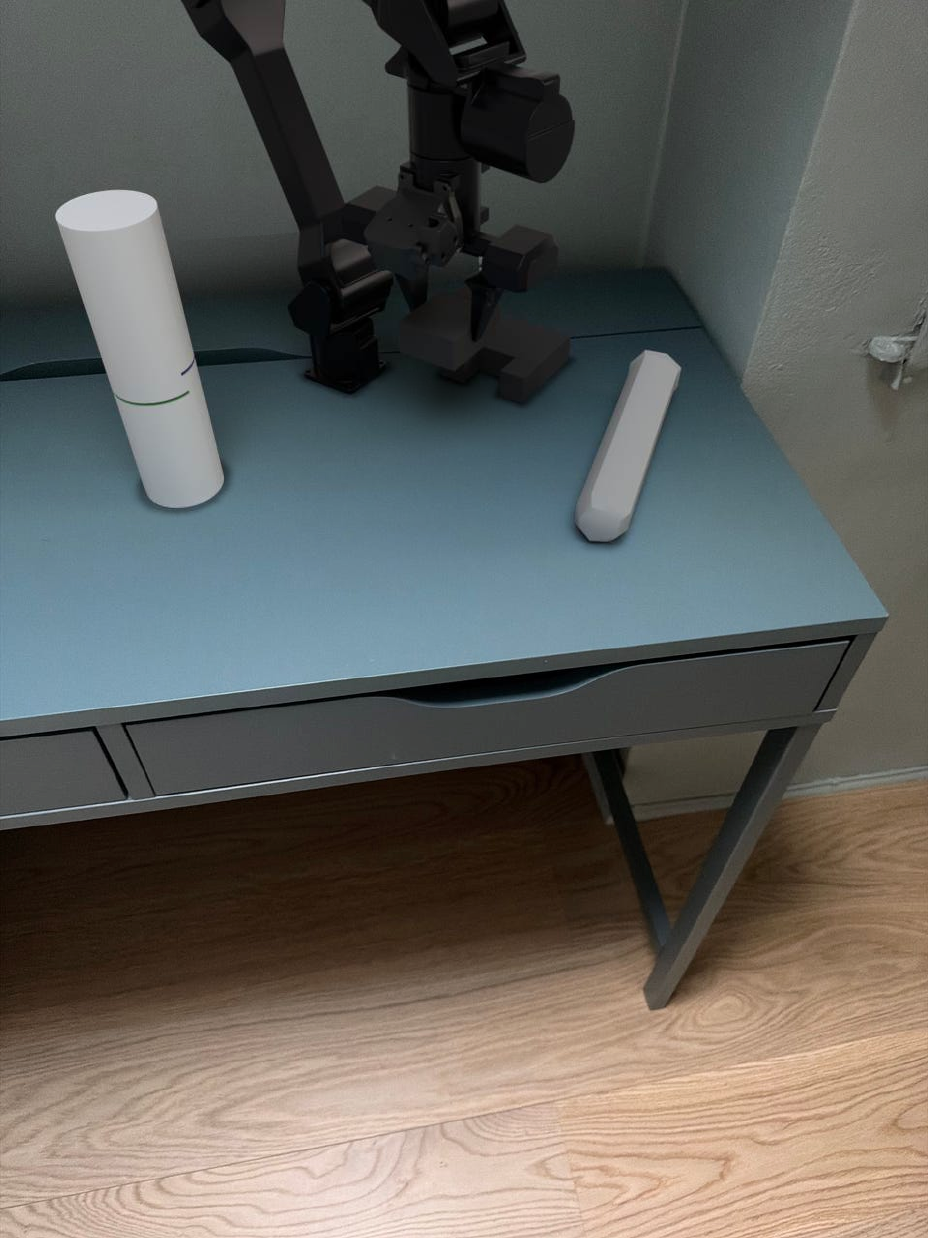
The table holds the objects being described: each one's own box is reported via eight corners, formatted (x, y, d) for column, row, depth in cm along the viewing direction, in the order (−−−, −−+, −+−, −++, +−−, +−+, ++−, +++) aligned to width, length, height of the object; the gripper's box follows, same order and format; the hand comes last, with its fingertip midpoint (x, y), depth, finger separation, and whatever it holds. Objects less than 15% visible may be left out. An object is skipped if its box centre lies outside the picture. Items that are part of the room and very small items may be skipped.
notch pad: (441, 375, 96) (440, 350, 94) (490, 334, 102) (490, 309, 99) (522, 404, 92) (524, 378, 90) (568, 360, 98) (571, 334, 96)
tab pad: (399, 351, 82) (397, 321, 80) (458, 306, 88) (458, 277, 85) (454, 371, 80) (453, 340, 78) (510, 324, 85) (512, 294, 83)
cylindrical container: (238, 468, 85) (176, 197, 67) (199, 514, 80) (120, 237, 62) (172, 453, 87) (93, 184, 68) (130, 498, 82) (34, 222, 64)
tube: (612, 563, 78) (665, 405, 94) (639, 523, 74) (690, 365, 90) (556, 536, 78) (619, 382, 94) (581, 494, 73) (642, 341, 89)
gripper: (286, 154, 69) (310, 338, 81) (492, 211, 62) (487, 404, 74) (373, 111, 76) (384, 288, 87) (569, 159, 69) (553, 344, 80)
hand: (447, 329), depth 82 cm, fingers closed on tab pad, 6 cm apart
